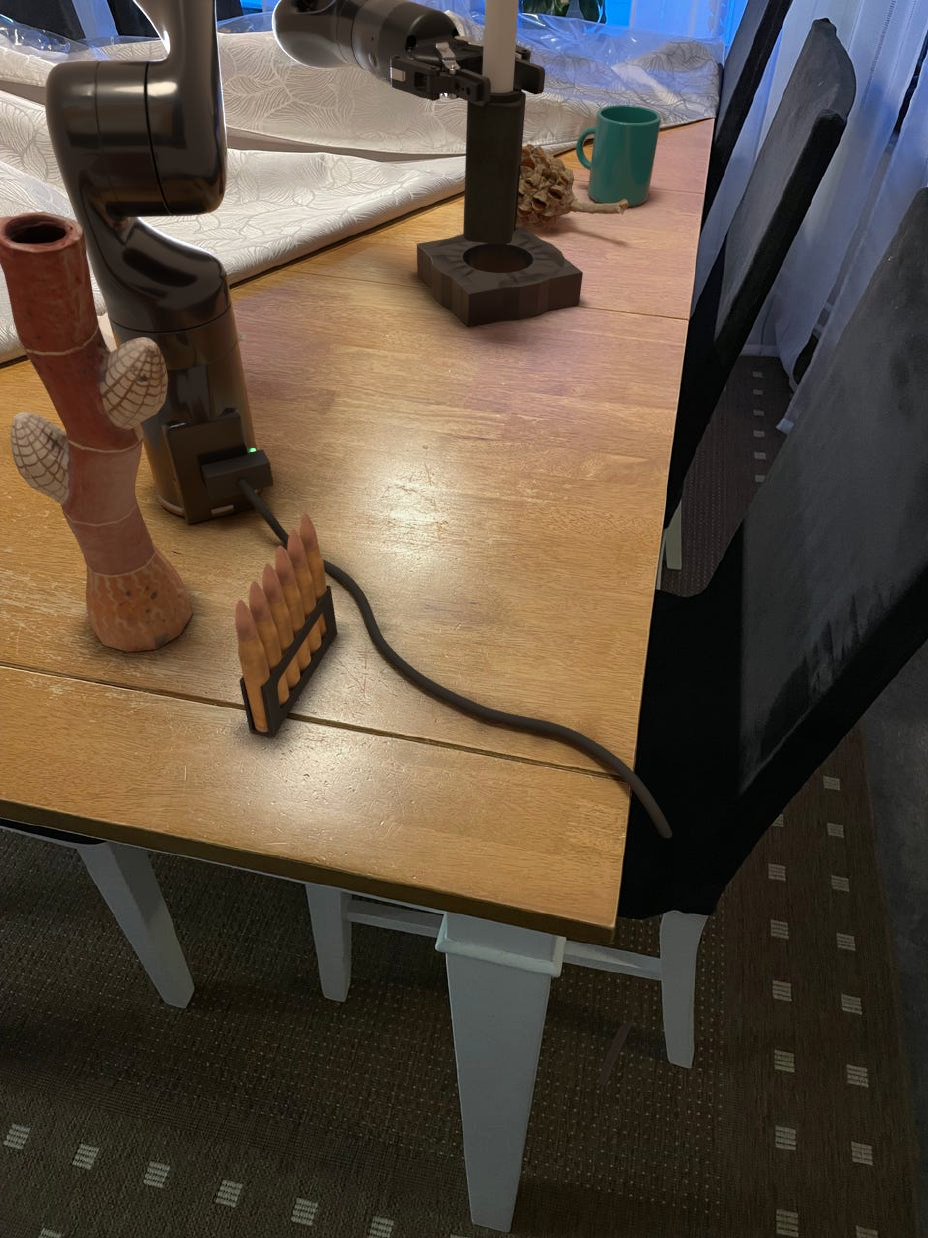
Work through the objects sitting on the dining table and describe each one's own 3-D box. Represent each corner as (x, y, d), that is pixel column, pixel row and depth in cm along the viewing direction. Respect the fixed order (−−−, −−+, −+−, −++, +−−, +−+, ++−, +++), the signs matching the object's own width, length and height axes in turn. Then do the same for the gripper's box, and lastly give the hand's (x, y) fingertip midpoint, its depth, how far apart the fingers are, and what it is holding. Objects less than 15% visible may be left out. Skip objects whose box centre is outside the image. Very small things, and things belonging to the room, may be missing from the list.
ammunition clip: (273, 739, 60) (246, 614, 51) (248, 732, 60) (218, 607, 51) (338, 632, 67) (323, 507, 58) (315, 626, 67) (298, 501, 59)
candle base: (585, 305, 106) (589, 273, 103) (465, 330, 101) (466, 296, 98) (523, 253, 116) (525, 223, 113) (411, 274, 111) (410, 242, 108)
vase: (67, 633, 66) (-108, 227, 45) (127, 573, 71) (-4, 180, 50) (185, 675, 63) (60, 264, 42) (240, 609, 68) (152, 212, 47)
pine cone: (467, 225, 123) (469, 148, 116) (495, 202, 129) (498, 128, 122) (617, 256, 116) (629, 177, 109) (639, 231, 122) (651, 154, 115)
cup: (585, 178, 137) (594, 97, 129) (656, 194, 133) (670, 111, 125) (559, 195, 131) (567, 112, 123) (633, 213, 127) (646, 128, 119)
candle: (510, 245, 89) (531, -61, 71) (461, 240, 90) (470, -66, 72) (517, 226, 93) (539, -71, 75) (470, 220, 93) (481, -76, 75)
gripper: (343, 10, 83) (455, 50, 74) (461, -7, 89) (576, 28, 81) (348, 99, 88) (453, 146, 79) (459, 76, 95) (567, 118, 86)
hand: (515, 87), depth 80 cm, fingers closed on candle, 6 cm apart
